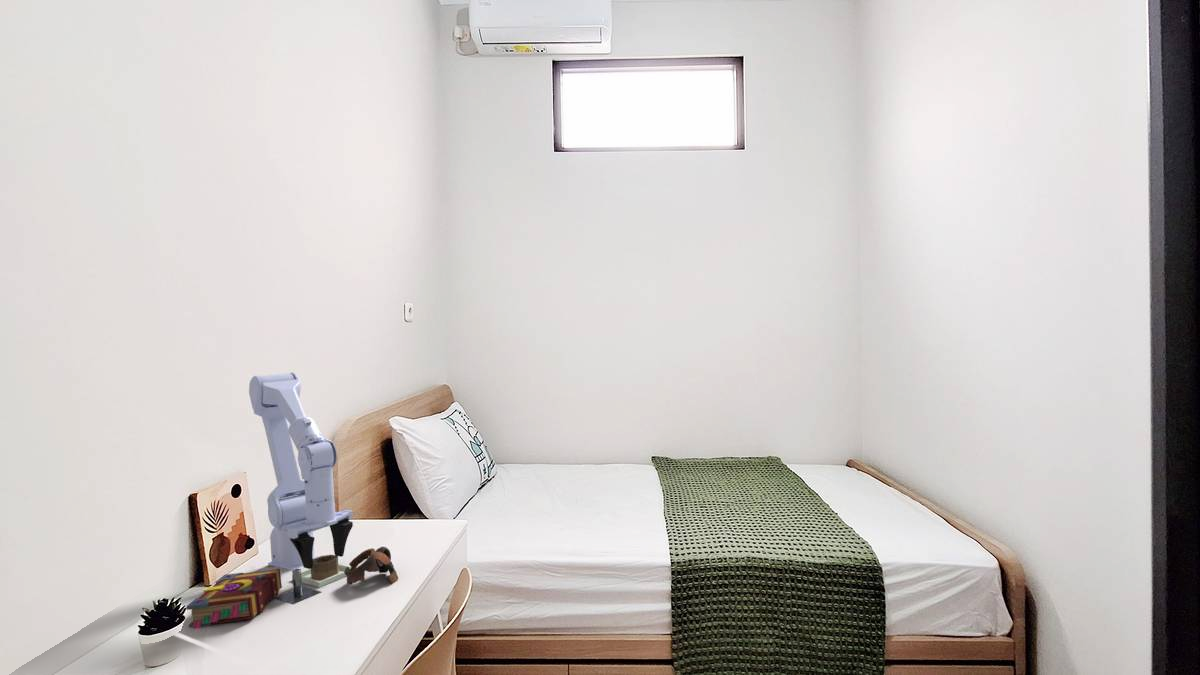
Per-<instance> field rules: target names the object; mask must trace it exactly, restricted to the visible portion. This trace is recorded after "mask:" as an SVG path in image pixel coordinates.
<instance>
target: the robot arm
mask: <svg viewBox="0 0 1200 675" xmlns="http://www.w3.org/2000/svg"><path fill="white" fill-rule="evenodd" d="M248 386H249V387H248V393H249V394H248V395H249V398H250V403H251V408H252V410H253V414H254V415H256V416H259V417H261V420H262V423H263V426H264V427H263V428H264V431H265V435H266V439H267V443H268V448H269V452H270V458H271V461H272V467H273V471H274V475H275V479H276V483H277V485H276V487H275V488H274V489H273V490H272V491H271V492H269V495H268V496H267V498H266V499H267V500H266V502H267V517H268V520H269V523H270V525H271V526H273V528H272V530H271V532H270V536H269V538H270V539H269V541H270V543H269V544H270V554H271V556H270V557H271V561H269V562H267V565H268V566H271V567H278V568H282V569H285V570H290V571H293V570H295V569H301V568H302V567H303V568H305V569H306V570H307V569H311V568H312V567H313V559H314V558H317V557H319V556H317V555H315V543H314V542H315V537H314V532H315V531H318V530H321V529H324V528H327V527H329V529H330V532H331V536H332V537H331V538H332V542H333V545H332V546H333V553H334V555H335V556H338V557H340V558H341V557H344V553H345V550H346V549H345V548H346V544H347V541H348V537H349V534H350V532H351V530H352V528H353V526H354V525H353V524H354V523H353V521H350V520H354V511H353V510H352V509H345V510H344V509H343V510H340V511H336V502H335V501H336V500H335V485H334V472H333V471H334V470H333V468H334V467H335V466H336V465H337V460H338V453H337V448H336V446H335V443H334V442H333V441H332V440H331V439H329V438H328V437H324V436H323V434H322V432H321V431H320V428H319V427H318V425H317V423H316V421H315V420H314V418H312V417H309V416H307V415H306V413H305V410H304V407H303V404H302V402H301V400H300V395H301V389H302V387H301V386H302V385H301V380H300V377H299V375H297V373H296V372H289V373H280V374H268V375H254V376H252V378H251V379H250V381H249V385H248ZM287 421H288V422H287ZM288 423H289V426H288ZM293 444H294V445H293ZM294 446H295V448H296V450H297V459H296V455H295V450H294ZM298 466H299V468H298ZM299 469H300V471H299ZM300 475H301V476H300Z"/></svg>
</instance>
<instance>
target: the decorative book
mask: <svg viewBox="0 0 1200 675" xmlns="http://www.w3.org/2000/svg"><path fill="white" fill-rule="evenodd" d="M282 587H283V586H282V576H281V569H280V568H276V569H268V570H261V571H259V570H258V571H252V572H245V573H244V572H238V573H237V572H235V573H228V574H227V573H226V574H224V575H222V576H221V577H220V578H218V580H216V581H215V584H213V585H212V586H208V587H207V588H205V589H204V590H203V593H202V594H201V595H200V596H199V597H196V598H194V600H192V601H191V602H190V603H188V604H187V605H186V610H187V611H188V610H191V616H192V620H191V622H190V623H189V624H188V628H189V629H193V630H194V629H201V627H210V626H212V625H214V624H215V625H216V624H223V623H231V622H238V621H239V622H240V621H245V620H252V619H253V618H254V617H255V616H257V614H261V613H262V612H263V611H264V610H265V609H266V608H265V607H266V605H267V604H268V603H269V602H270V601H271V600H272V599H274V598H276V597H278V596H279V591H280V590H281V589H282Z"/></svg>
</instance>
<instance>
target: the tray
mask: <svg viewBox="0 0 1200 675" xmlns="http://www.w3.org/2000/svg"><path fill="white" fill-rule="evenodd" d="M338 566H339V573H338V574H336V575H334V576H331V577H329V578H326V579H324V580H319V581H318V580H314V579H311V569H307V568H306V569H304V570H303V571H302V570H301V577H302V584H303V585H304V584H306V585H307V586H308V585H309V586H313V587H315V588H322V587H325V586H327V585H330V584H332V583H335V582H336V581H337V582H338V581H339V580H342V579H343V578H347V576H346V575H345V574H344V571H345V569H346V568H347V567H349V569H351V566H350V565H349V564H348V565H347V564H344V563H340V562H338ZM357 567H358V566H357ZM357 567H356V568H357ZM291 577H292V578H291V580H292V581H293V575H292V574H291Z"/></svg>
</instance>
